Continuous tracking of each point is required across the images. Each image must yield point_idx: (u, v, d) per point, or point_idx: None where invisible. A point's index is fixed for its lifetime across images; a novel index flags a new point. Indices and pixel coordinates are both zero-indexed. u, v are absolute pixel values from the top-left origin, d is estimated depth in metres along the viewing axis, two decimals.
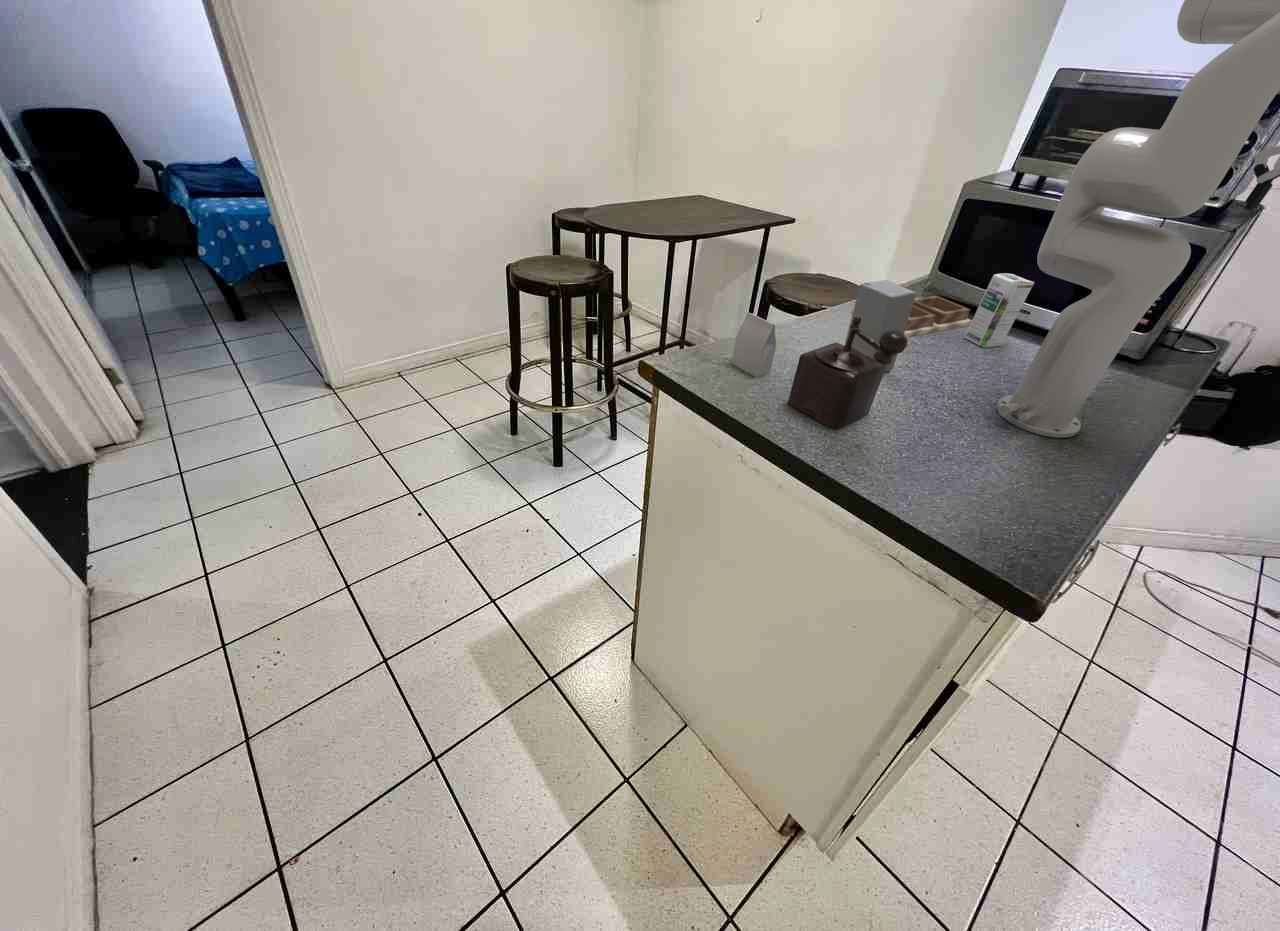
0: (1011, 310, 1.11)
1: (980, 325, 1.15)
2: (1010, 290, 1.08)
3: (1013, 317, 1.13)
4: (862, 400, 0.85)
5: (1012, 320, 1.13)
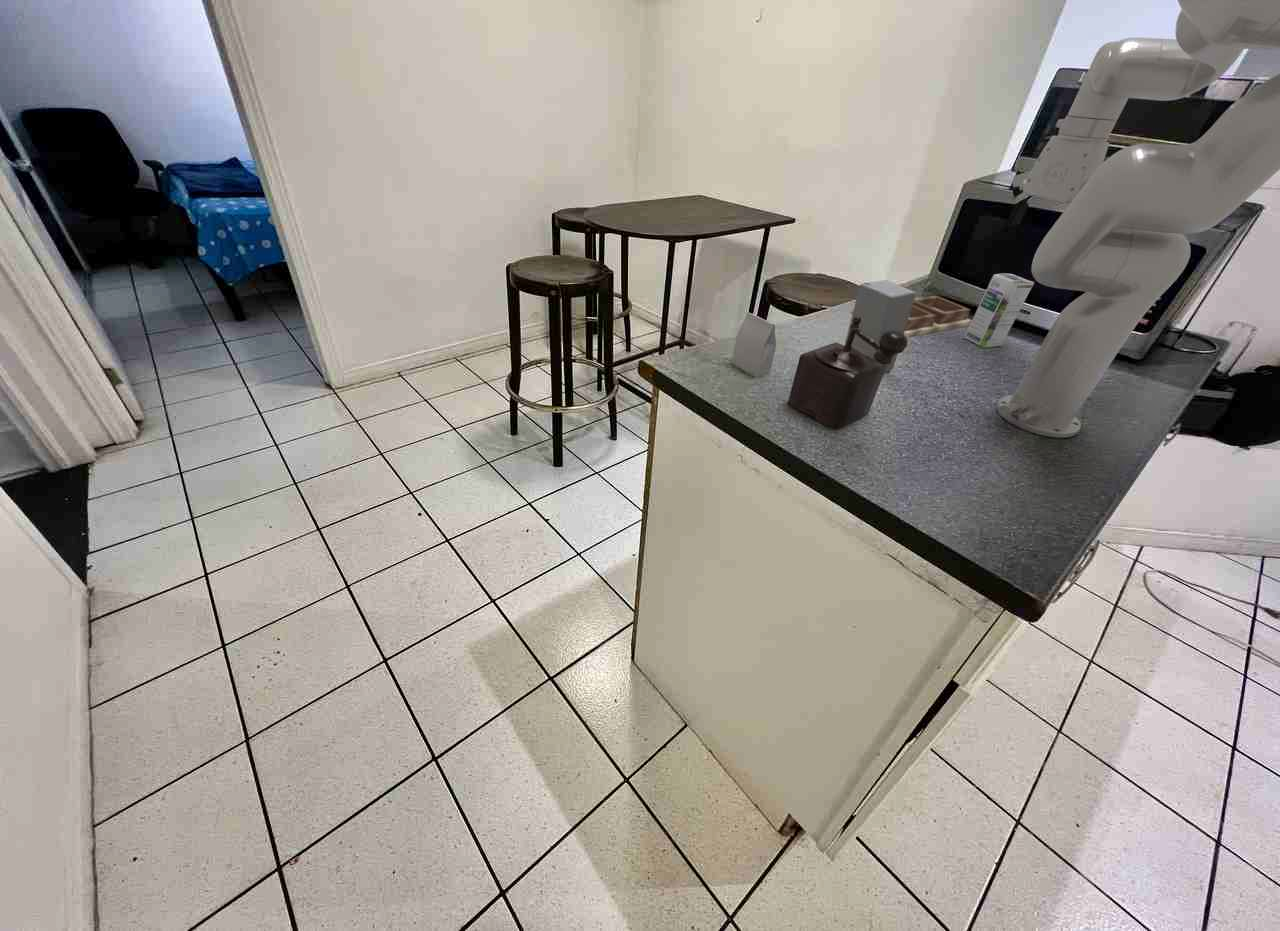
0: (1011, 310, 1.11)
1: (980, 325, 1.15)
2: (1010, 290, 1.08)
3: (1013, 317, 1.13)
4: (862, 400, 0.85)
5: (1012, 320, 1.13)
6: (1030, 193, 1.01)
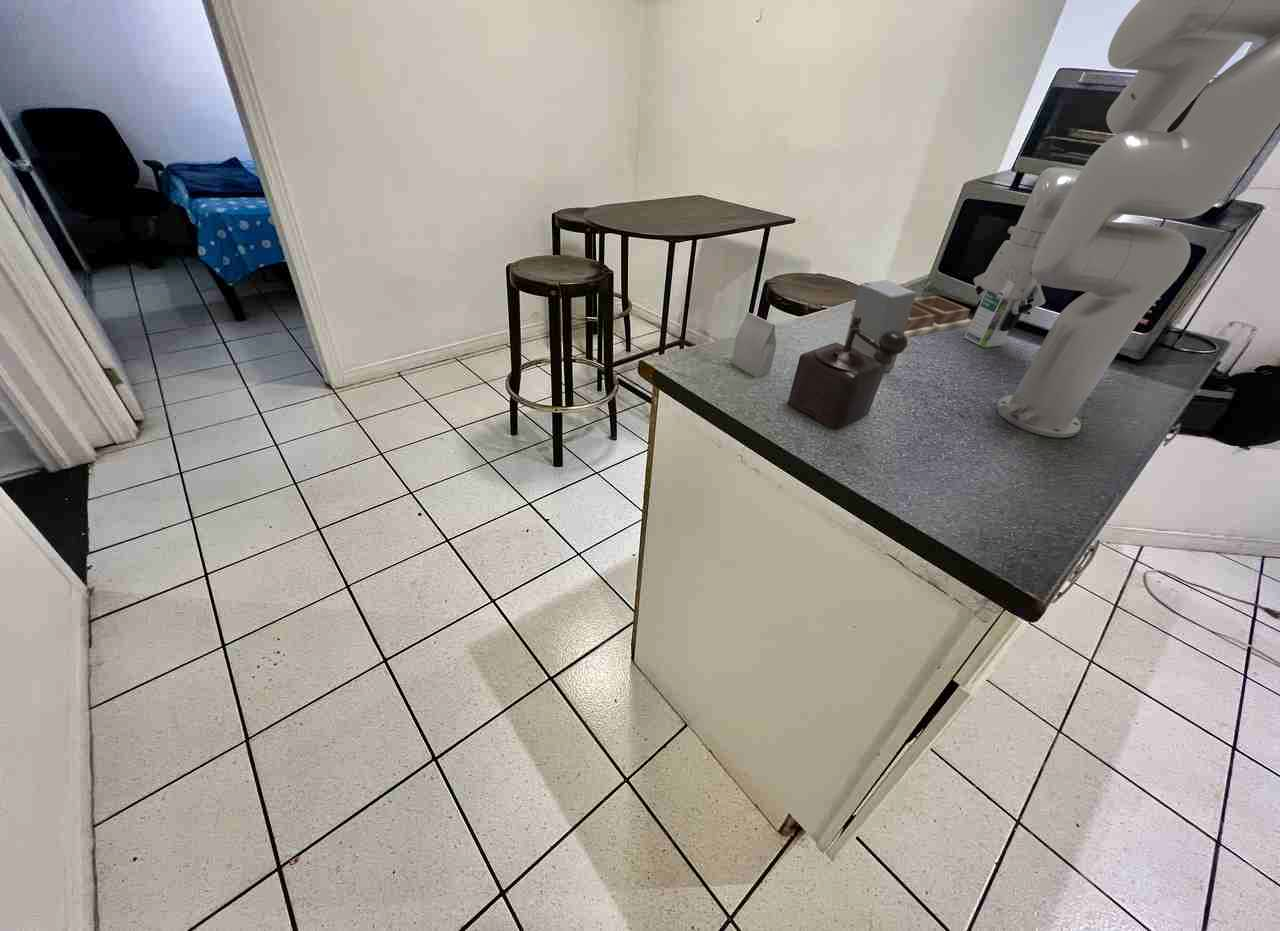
0: (1011, 309, 1.11)
1: (980, 325, 1.15)
2: (1010, 290, 1.08)
3: None
4: (862, 400, 0.85)
5: None
6: (986, 288, 1.12)
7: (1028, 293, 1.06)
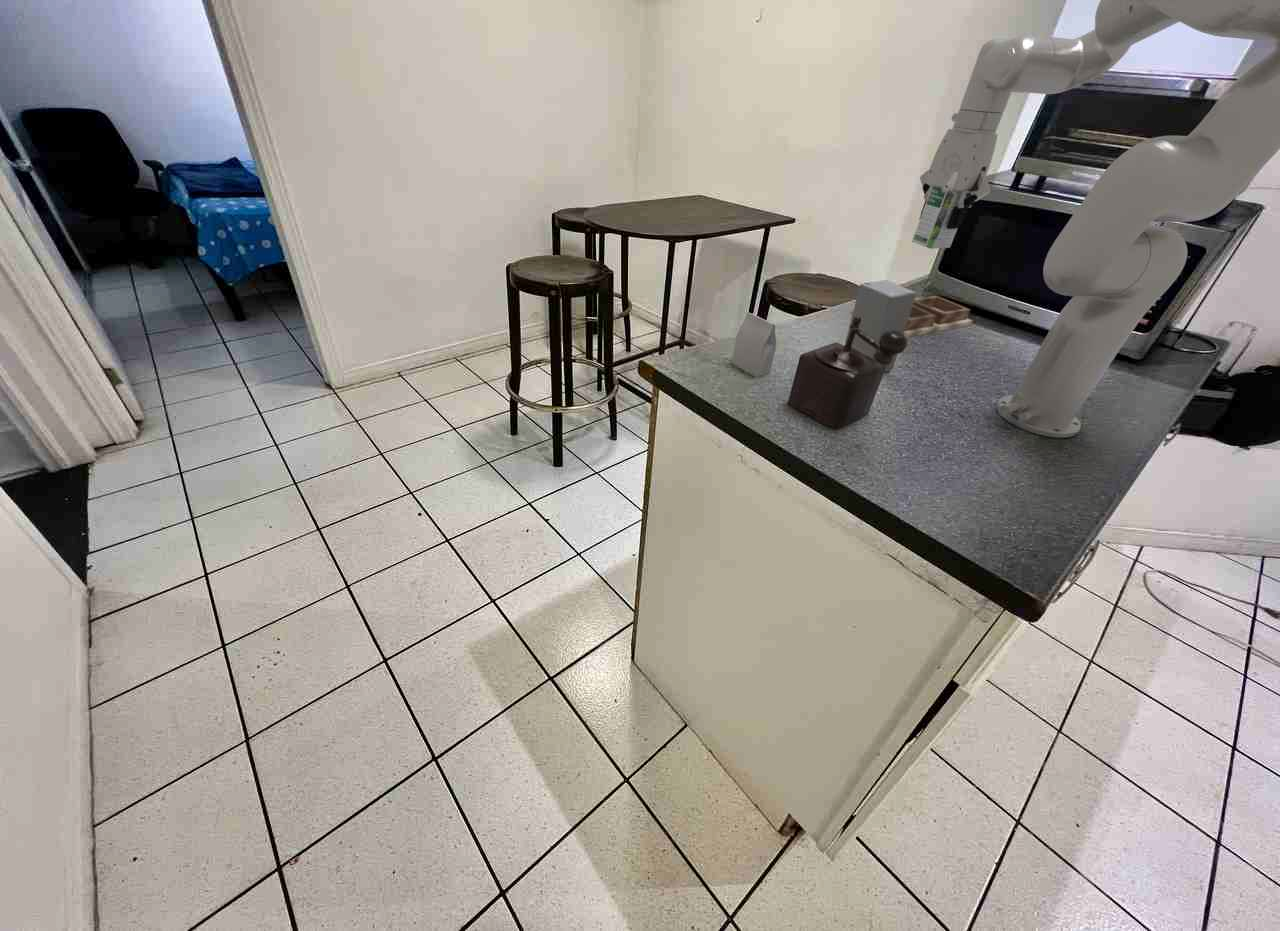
0: None
1: (926, 225, 1.10)
2: (954, 180, 1.02)
3: None
4: (862, 400, 0.85)
5: None
6: (932, 183, 1.07)
7: (972, 182, 1.01)
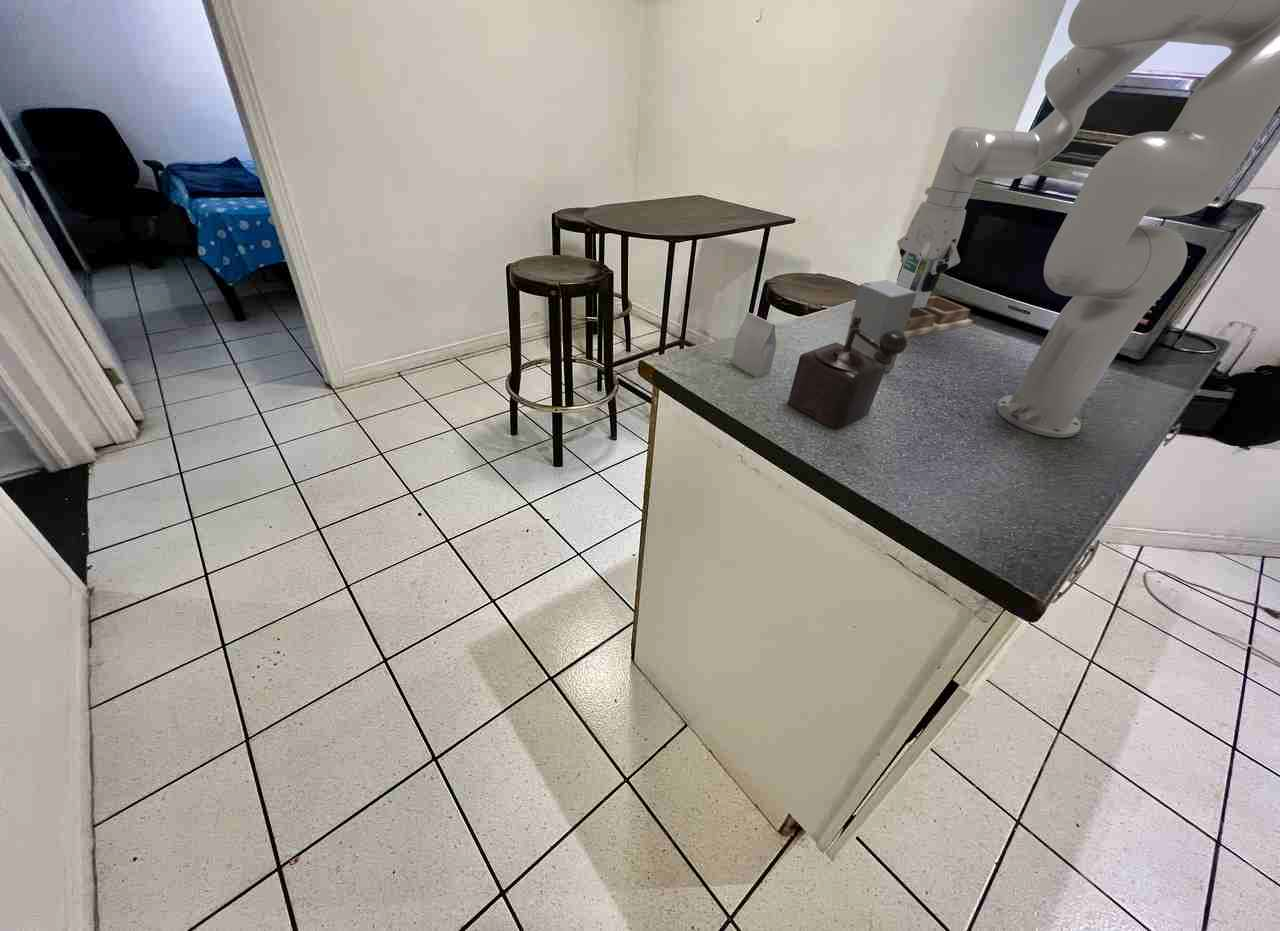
0: None
1: None
2: (927, 250, 1.11)
3: None
4: (862, 400, 0.85)
5: None
6: (907, 250, 1.15)
7: (943, 252, 1.09)
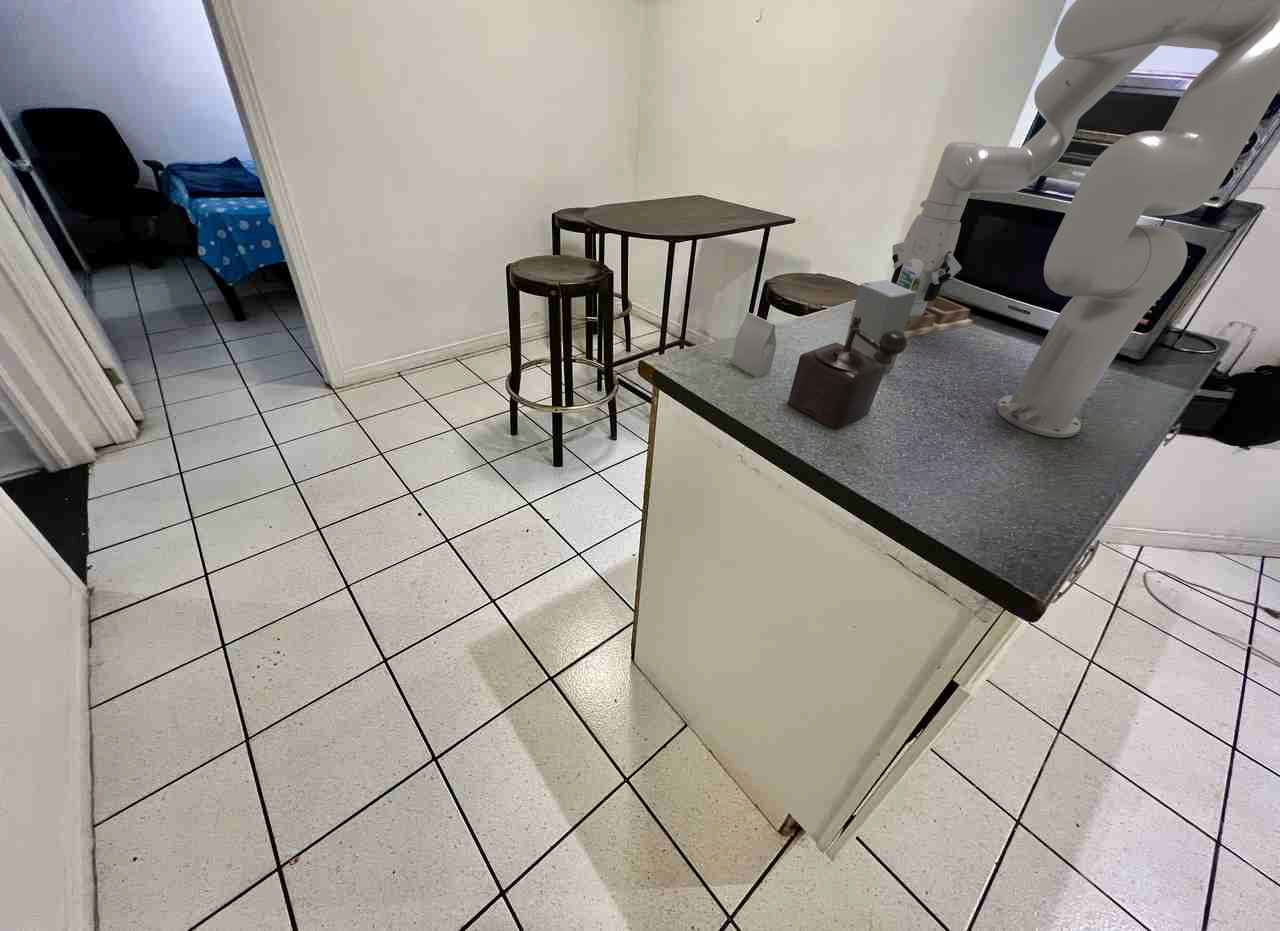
0: (925, 288, 1.16)
1: None
2: (920, 270, 1.13)
3: None
4: (862, 400, 0.85)
5: None
6: (903, 261, 1.16)
7: (939, 264, 1.10)
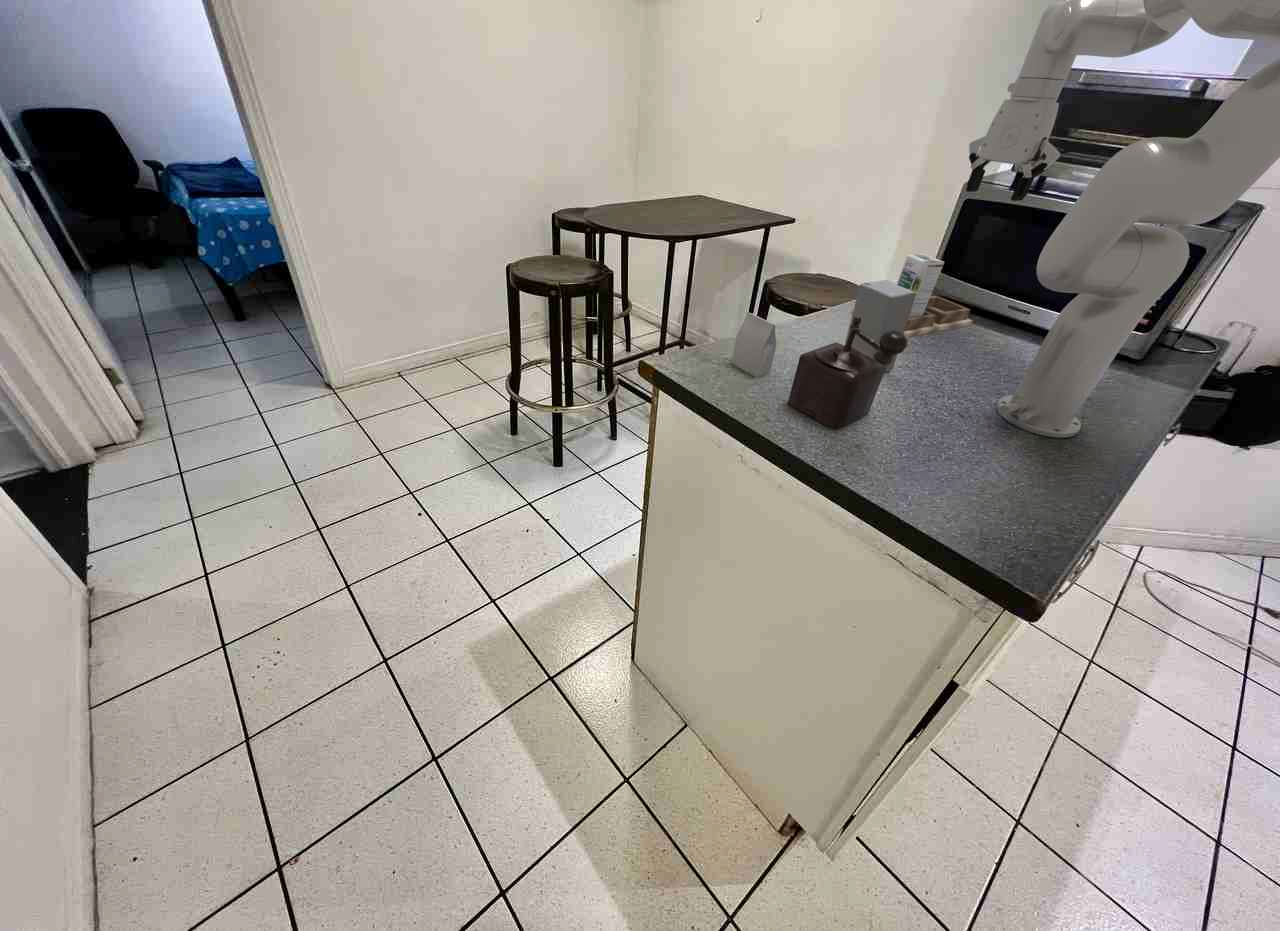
0: (925, 288, 1.16)
1: None
2: (921, 269, 1.13)
3: (927, 296, 1.18)
4: (862, 400, 0.85)
5: (927, 299, 1.18)
6: (986, 157, 1.03)
7: (1033, 153, 0.97)
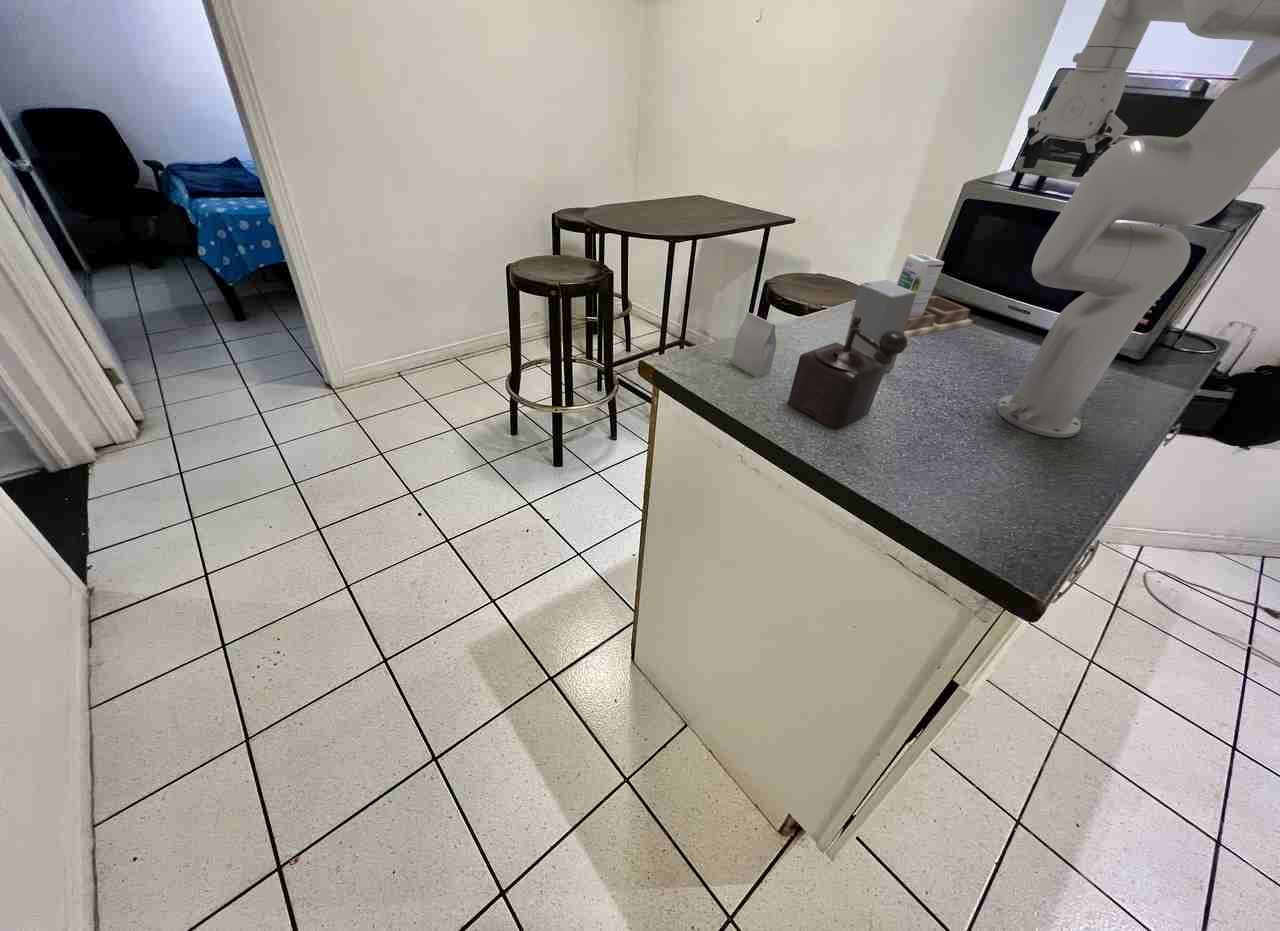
0: (925, 288, 1.16)
1: None
2: (921, 269, 1.13)
3: (927, 296, 1.18)
4: (862, 400, 0.85)
5: (927, 299, 1.18)
6: (1046, 131, 0.99)
7: (1097, 127, 0.93)
